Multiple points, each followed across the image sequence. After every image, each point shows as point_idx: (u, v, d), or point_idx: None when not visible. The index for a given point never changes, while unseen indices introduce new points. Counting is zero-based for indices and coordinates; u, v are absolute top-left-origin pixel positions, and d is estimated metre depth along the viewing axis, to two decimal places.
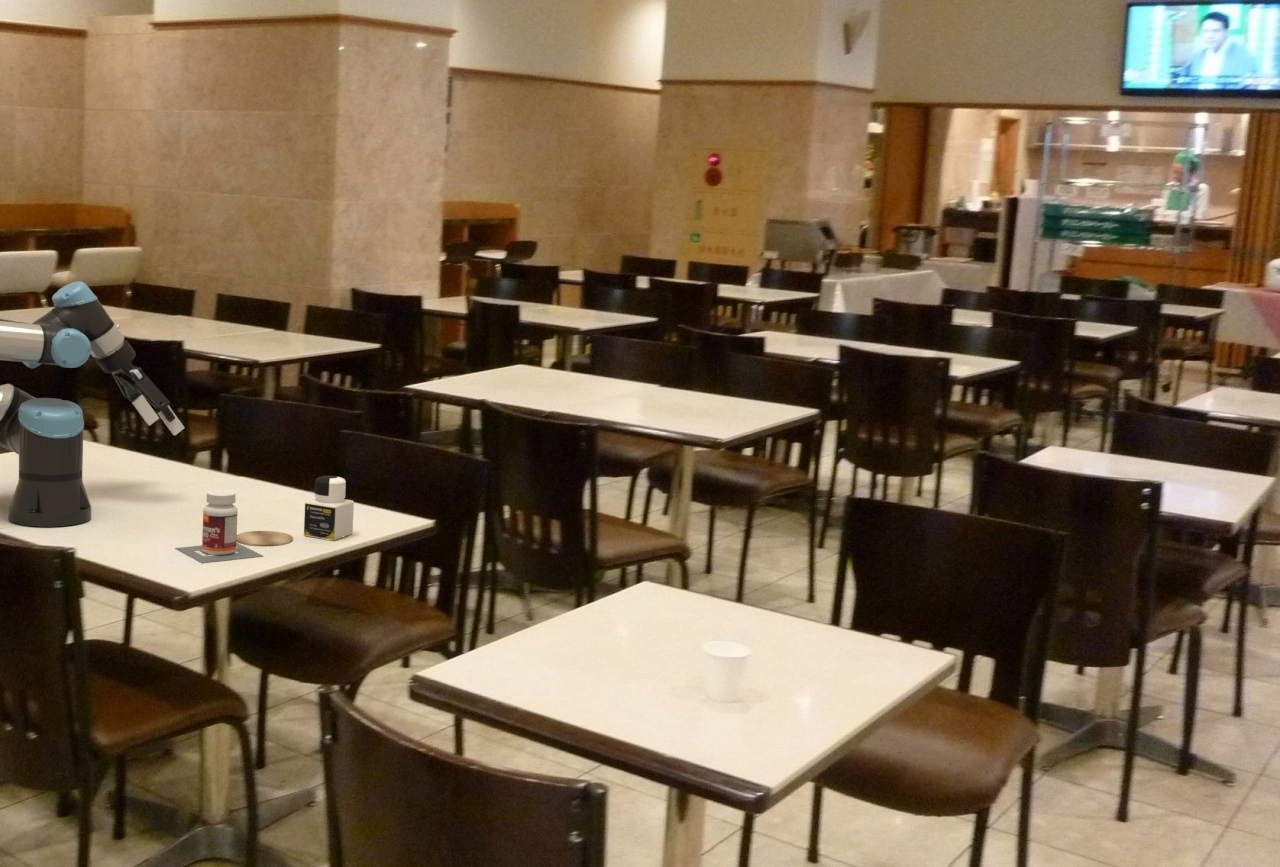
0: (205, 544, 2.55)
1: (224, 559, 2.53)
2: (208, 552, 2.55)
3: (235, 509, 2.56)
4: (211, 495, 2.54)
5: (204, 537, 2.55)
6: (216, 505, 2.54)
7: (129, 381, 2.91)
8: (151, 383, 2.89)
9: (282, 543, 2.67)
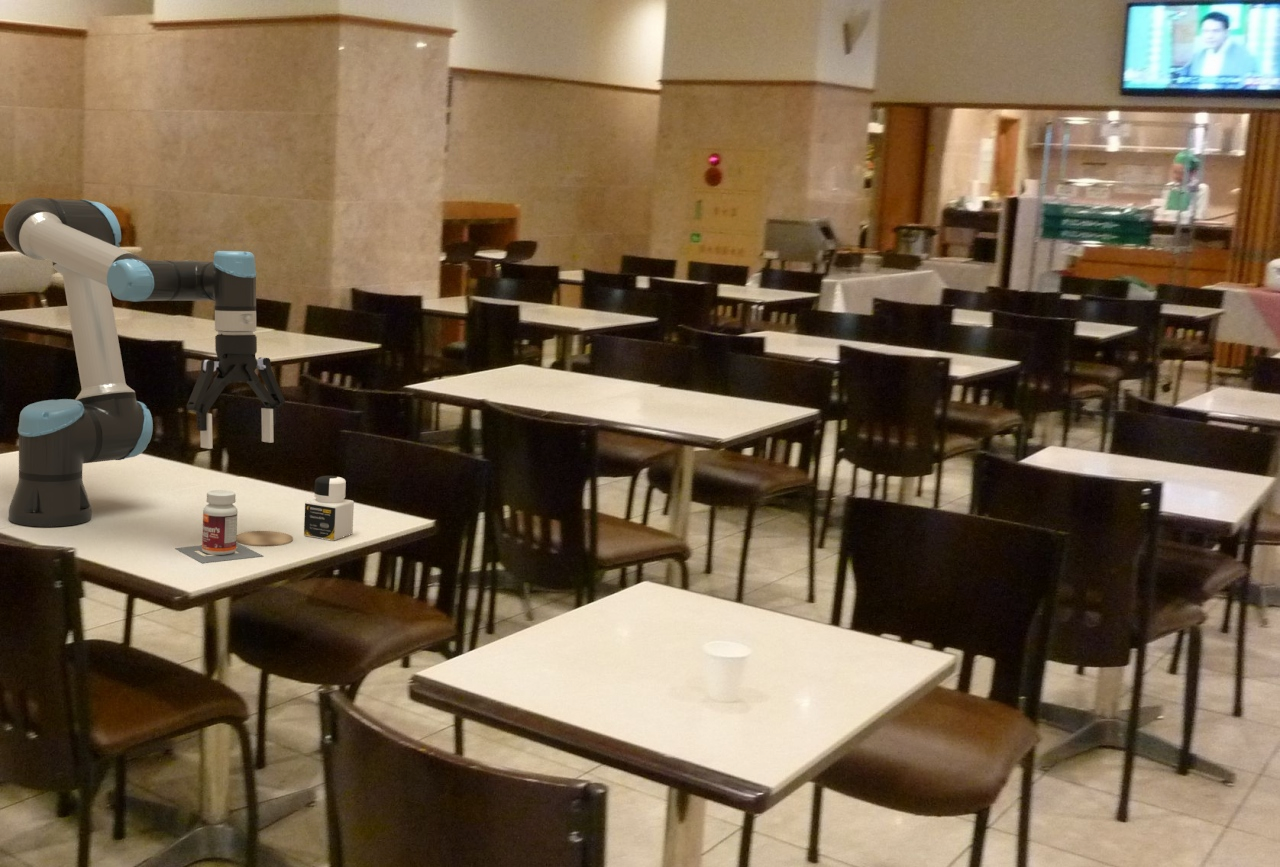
0: (205, 544, 2.55)
1: (224, 559, 2.53)
2: (208, 552, 2.55)
3: (235, 509, 2.56)
4: (211, 495, 2.54)
5: (204, 537, 2.55)
6: (216, 505, 2.54)
7: None
8: (203, 381, 2.54)
9: (282, 543, 2.67)
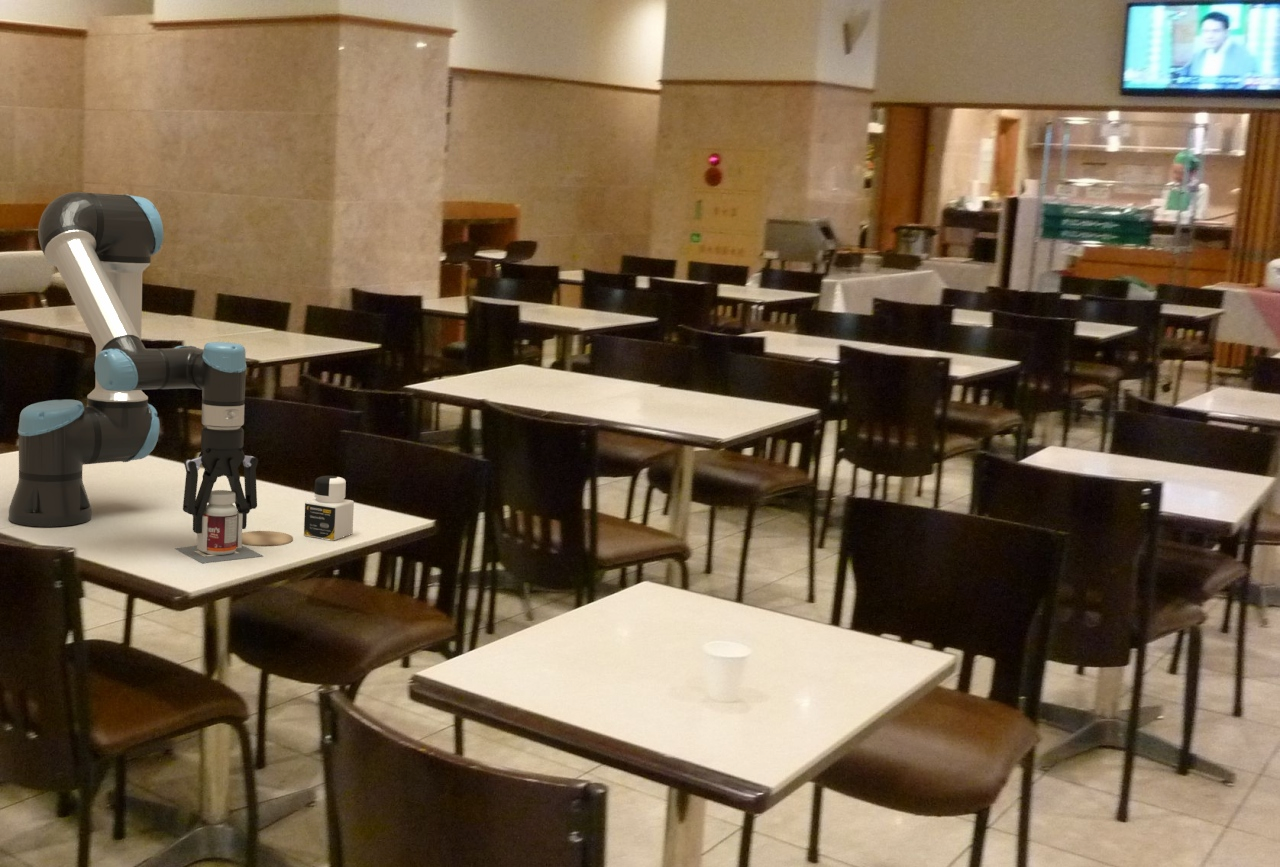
0: None
1: (224, 559, 2.53)
2: (208, 552, 2.55)
3: (235, 509, 2.56)
4: (211, 495, 2.54)
5: None
6: (216, 505, 2.54)
7: None
8: (190, 483, 2.51)
9: (282, 543, 2.67)
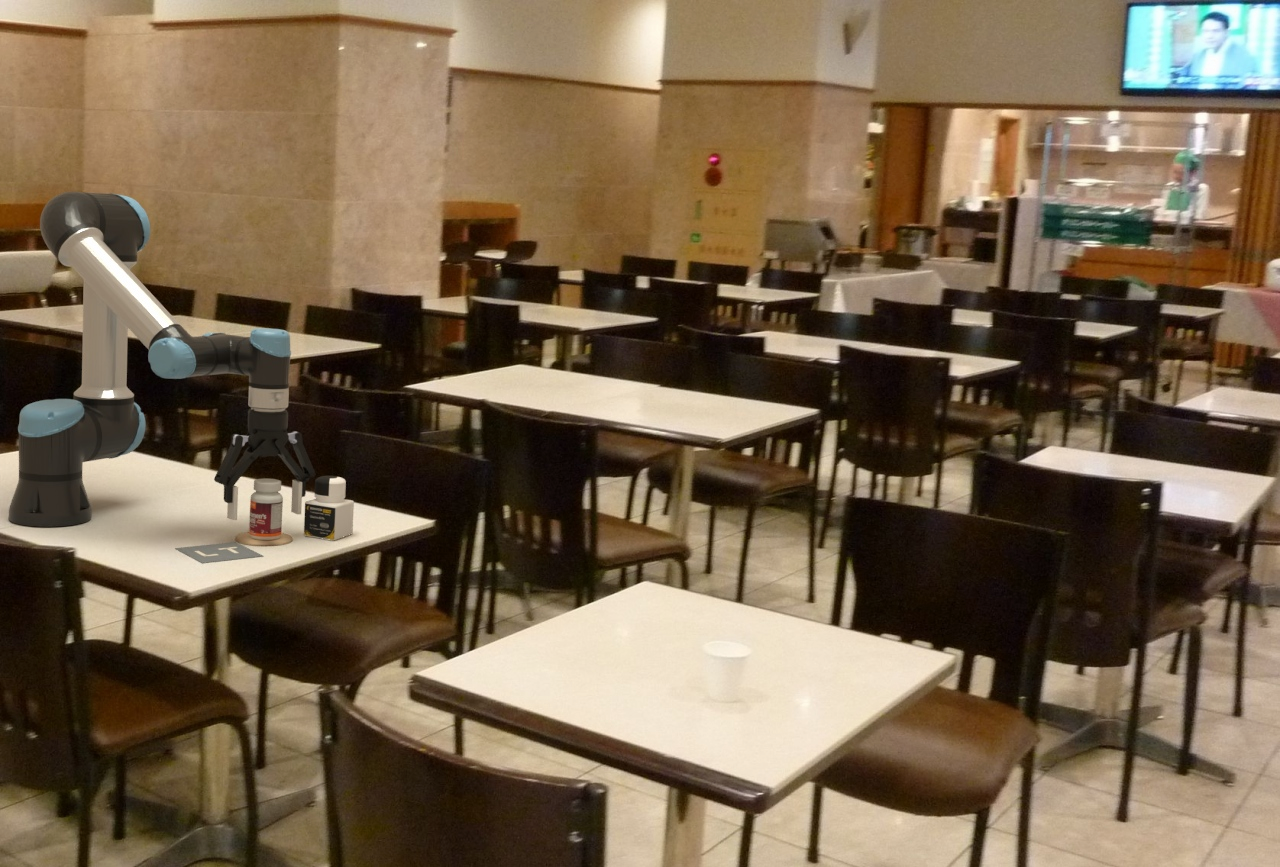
0: (252, 530, 2.68)
1: (224, 559, 2.53)
2: (255, 537, 2.68)
3: (281, 497, 2.69)
4: (258, 483, 2.67)
5: (251, 523, 2.68)
6: (263, 493, 2.67)
7: None
8: (230, 455, 2.62)
9: (282, 543, 2.67)
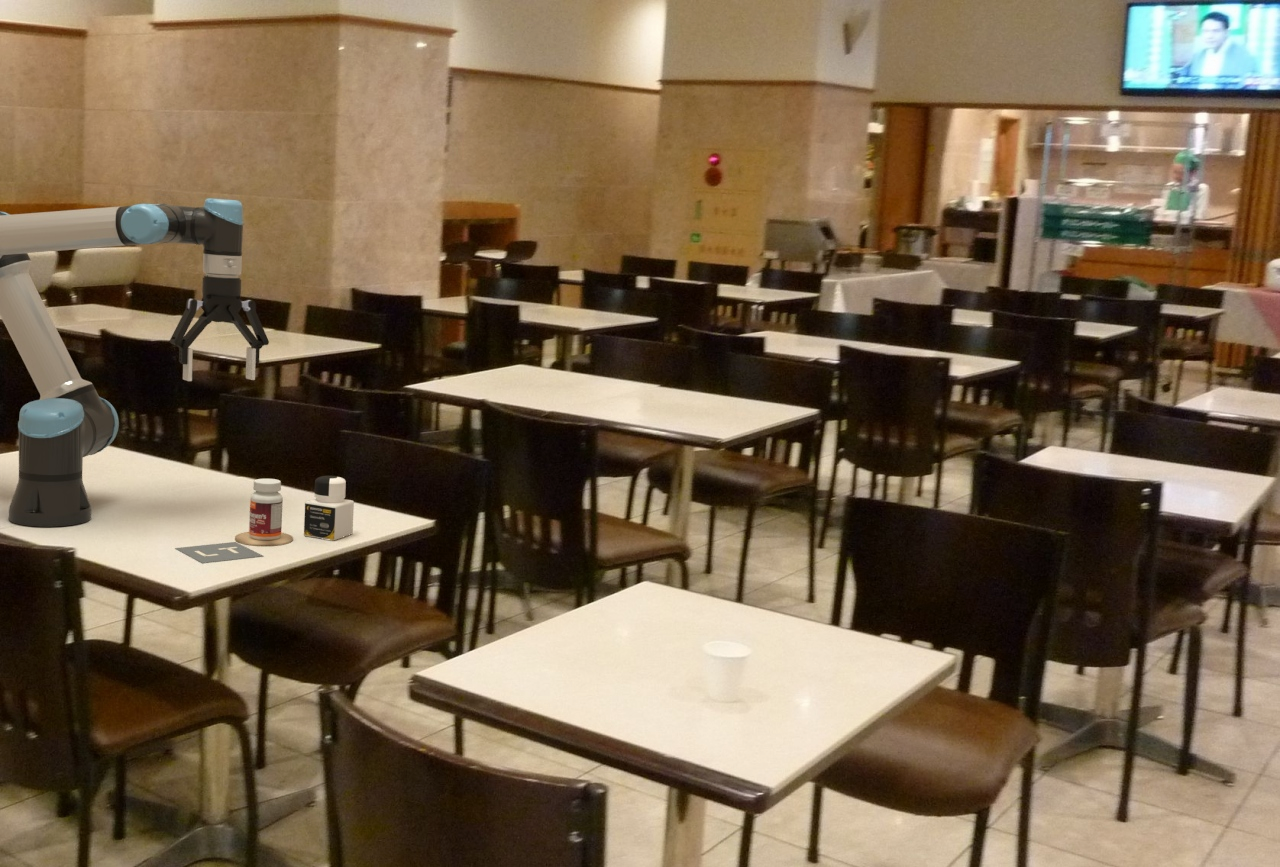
0: (252, 530, 2.68)
1: (224, 559, 2.53)
2: (255, 537, 2.68)
3: (280, 497, 2.69)
4: (258, 483, 2.67)
5: (251, 523, 2.68)
6: (263, 493, 2.67)
7: None
8: (185, 318, 2.74)
9: (282, 543, 2.67)
